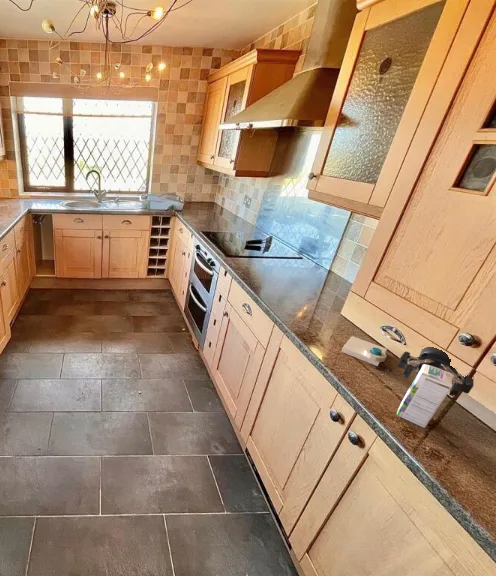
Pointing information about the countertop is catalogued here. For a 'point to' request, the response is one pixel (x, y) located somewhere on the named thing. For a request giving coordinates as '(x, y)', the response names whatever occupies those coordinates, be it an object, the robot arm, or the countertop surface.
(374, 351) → the tare button
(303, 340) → the countertop surface
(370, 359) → the scale
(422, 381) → the syrup box
